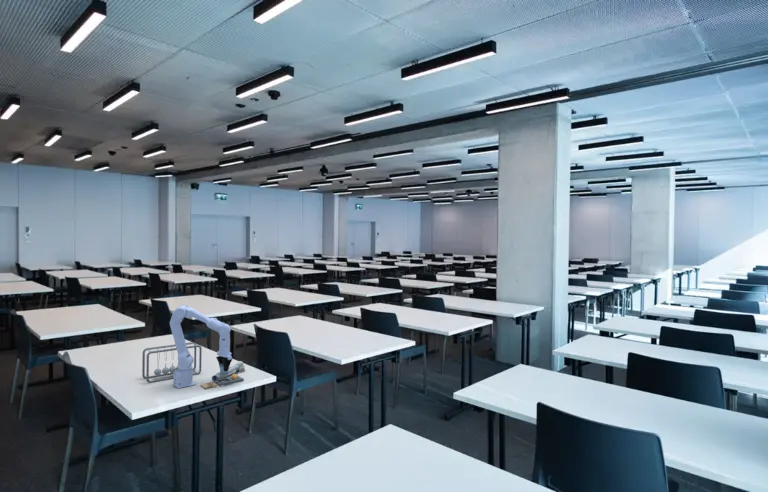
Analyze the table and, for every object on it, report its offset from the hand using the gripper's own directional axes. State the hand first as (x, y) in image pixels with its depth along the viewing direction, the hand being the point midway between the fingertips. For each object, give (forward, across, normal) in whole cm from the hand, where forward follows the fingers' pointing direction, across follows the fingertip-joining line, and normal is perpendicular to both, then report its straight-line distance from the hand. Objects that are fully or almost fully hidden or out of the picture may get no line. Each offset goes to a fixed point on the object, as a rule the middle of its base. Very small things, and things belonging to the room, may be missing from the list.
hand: (224, 369), depth 252 cm
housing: (+8, 0, -3) cm, 8 cm away
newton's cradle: (+8, +32, +17) cm, 37 cm away
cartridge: (+2, 0, 0) cm, 2 cm away
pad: (+8, 0, +8) cm, 11 cm away
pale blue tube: (+8, +11, -9) cm, 16 cm away
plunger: (+7, 0, -7) cm, 10 cm away
